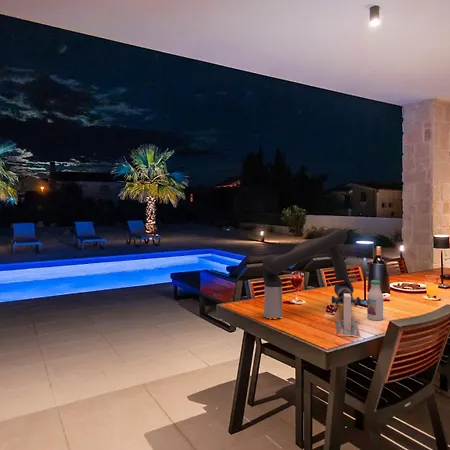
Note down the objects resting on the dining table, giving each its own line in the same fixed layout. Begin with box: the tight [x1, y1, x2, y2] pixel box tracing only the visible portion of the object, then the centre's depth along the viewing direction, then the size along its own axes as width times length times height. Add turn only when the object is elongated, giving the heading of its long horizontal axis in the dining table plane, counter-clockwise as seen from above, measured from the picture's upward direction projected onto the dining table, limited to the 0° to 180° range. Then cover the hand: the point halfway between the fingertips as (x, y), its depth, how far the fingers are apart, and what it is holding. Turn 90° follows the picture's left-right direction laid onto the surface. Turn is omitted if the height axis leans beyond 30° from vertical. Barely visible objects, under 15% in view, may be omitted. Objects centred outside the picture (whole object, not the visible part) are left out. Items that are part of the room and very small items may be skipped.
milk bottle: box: [366, 279, 384, 321], centre depth 208 cm, size 8×8×20 cm
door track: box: [335, 315, 361, 337], centre depth 192 cm, size 10×20×4 cm, turn 166°
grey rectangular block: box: [343, 293, 352, 330], centre depth 191 cm, size 3×6×16 cm, turn 166°
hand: (346, 304), depth 199 cm, fingers open, 8 cm apart
